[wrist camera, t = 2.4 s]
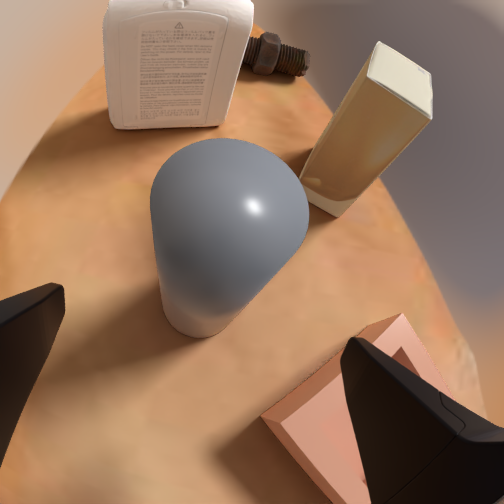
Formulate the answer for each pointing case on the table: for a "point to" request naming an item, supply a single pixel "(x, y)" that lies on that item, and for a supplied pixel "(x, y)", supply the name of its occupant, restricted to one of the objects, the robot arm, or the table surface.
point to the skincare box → (368, 130)
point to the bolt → (275, 56)
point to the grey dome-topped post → (222, 230)
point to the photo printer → (173, 60)
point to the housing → (342, 413)
